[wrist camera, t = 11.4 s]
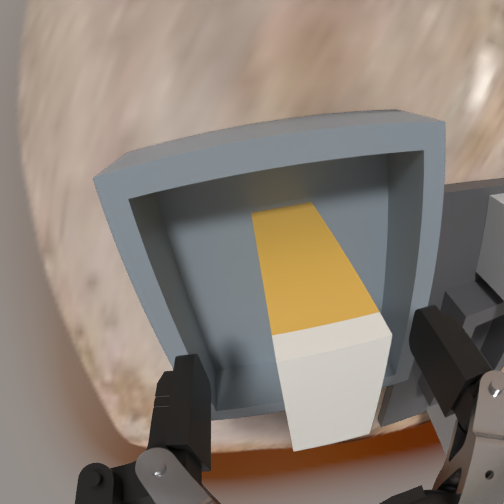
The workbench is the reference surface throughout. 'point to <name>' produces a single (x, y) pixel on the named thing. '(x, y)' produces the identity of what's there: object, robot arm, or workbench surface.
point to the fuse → (320, 328)
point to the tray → (244, 243)
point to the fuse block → (461, 293)
